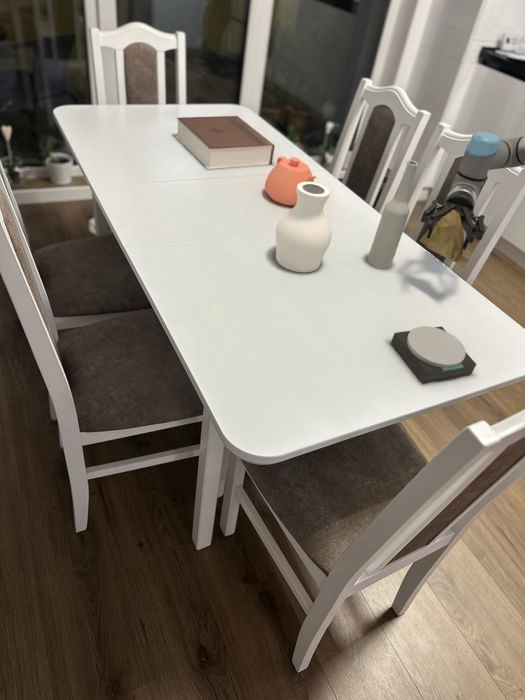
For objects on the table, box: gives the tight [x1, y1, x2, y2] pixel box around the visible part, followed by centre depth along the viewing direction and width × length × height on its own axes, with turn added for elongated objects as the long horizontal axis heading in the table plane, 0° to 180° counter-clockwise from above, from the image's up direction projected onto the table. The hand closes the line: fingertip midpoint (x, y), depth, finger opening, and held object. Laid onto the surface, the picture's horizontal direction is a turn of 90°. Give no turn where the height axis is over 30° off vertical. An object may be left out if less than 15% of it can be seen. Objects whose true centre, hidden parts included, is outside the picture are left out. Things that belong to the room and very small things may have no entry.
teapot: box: [264, 155, 318, 207], centre depth 165 cm, size 22×16×12 cm
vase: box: [275, 181, 333, 274], centre depth 136 cm, size 14×14×20 cm
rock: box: [419, 210, 465, 263], centre depth 131 cm, size 11×9×10 cm
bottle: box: [367, 160, 419, 270], centre depth 139 cm, size 7×7×28 cm
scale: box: [390, 325, 478, 384], centre depth 118 cm, size 13×13×4 cm
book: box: [175, 115, 276, 170], centre depth 189 cm, size 24×28×7 cm
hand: (447, 238), depth 126 cm, fingers closed on rock, 8 cm apart
